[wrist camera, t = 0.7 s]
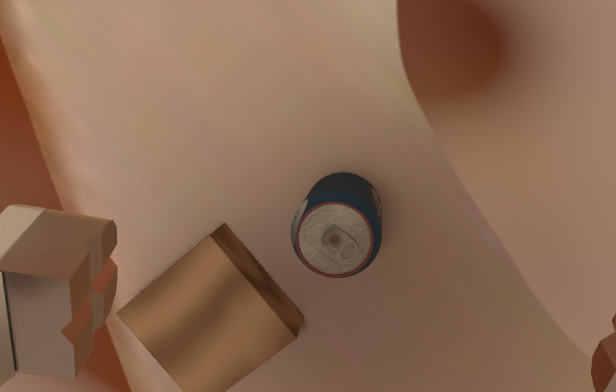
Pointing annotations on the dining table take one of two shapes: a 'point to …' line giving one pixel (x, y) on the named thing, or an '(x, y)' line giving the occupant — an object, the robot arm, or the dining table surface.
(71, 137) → the dining table surface
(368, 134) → the dining table surface
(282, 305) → the block
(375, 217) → the soda can
